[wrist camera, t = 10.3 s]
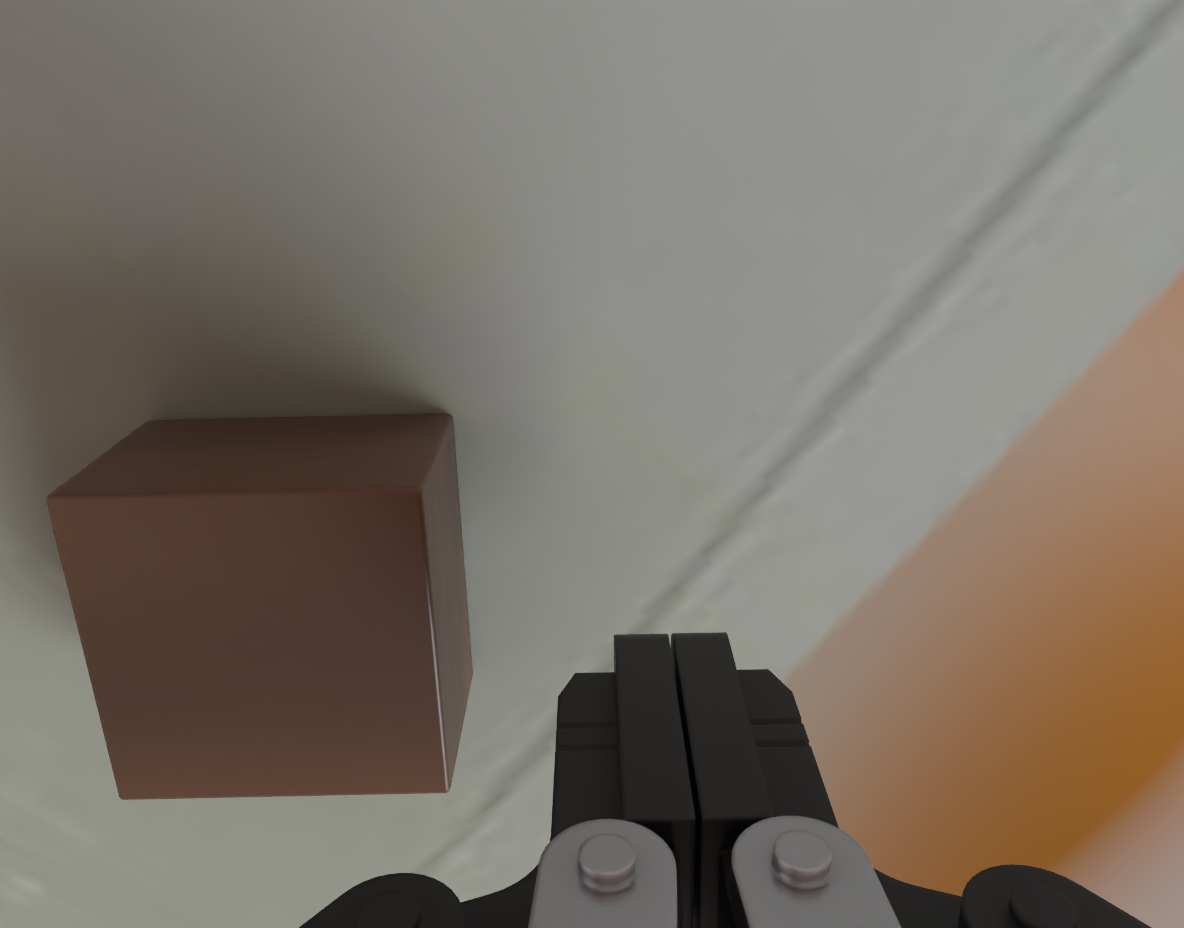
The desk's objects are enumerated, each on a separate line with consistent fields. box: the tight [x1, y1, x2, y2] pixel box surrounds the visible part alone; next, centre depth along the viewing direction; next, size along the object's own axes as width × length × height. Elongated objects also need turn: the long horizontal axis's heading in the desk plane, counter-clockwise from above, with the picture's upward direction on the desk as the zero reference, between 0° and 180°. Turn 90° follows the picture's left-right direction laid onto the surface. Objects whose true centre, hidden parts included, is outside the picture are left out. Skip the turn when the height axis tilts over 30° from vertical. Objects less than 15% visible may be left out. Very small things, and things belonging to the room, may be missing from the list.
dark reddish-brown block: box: [46, 414, 473, 800], centre depth 15 cm, size 5×5×3 cm
